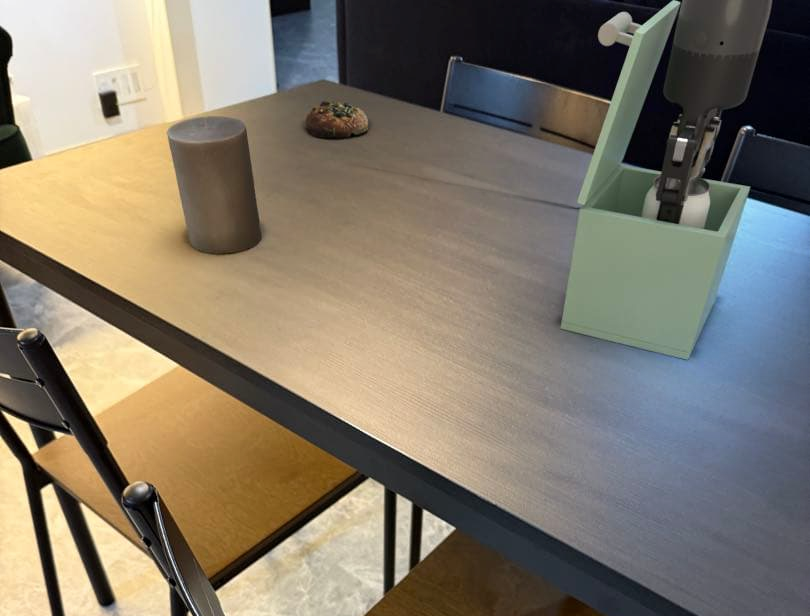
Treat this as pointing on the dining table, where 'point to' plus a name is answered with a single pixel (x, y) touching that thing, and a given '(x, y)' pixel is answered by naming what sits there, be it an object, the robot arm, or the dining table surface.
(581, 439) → the dining table surface
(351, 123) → the bread roll
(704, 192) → the can
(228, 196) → the pillar candle
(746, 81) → the robot arm
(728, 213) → the box
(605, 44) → the lid
